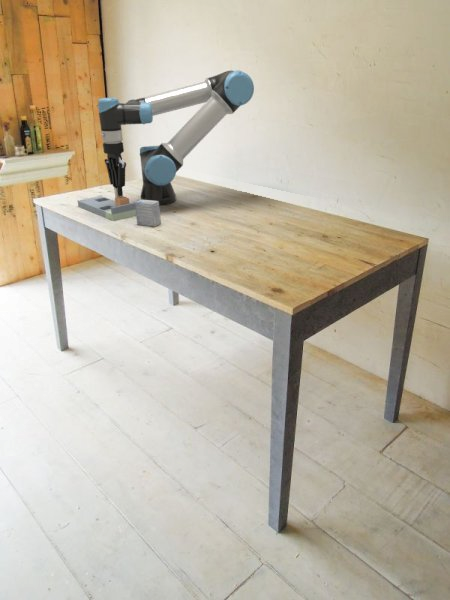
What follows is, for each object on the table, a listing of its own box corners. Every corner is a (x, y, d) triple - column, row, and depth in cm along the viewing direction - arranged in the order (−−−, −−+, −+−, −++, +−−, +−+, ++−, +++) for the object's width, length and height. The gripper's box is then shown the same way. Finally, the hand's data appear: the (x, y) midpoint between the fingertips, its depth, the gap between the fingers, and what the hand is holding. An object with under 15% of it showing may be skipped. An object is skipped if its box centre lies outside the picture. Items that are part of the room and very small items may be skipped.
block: (116, 208, 198) (114, 198, 196) (124, 206, 200) (123, 196, 199) (121, 210, 195) (119, 199, 194) (130, 208, 198) (128, 198, 196)
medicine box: (161, 223, 186) (159, 200, 182) (155, 227, 183) (152, 203, 179) (143, 221, 189) (141, 199, 186) (136, 225, 186) (134, 202, 182)
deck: (78, 206, 212) (76, 194, 210) (101, 201, 218) (100, 190, 216) (113, 221, 191) (112, 208, 189) (138, 215, 197) (137, 202, 195)
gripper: (95, 141, 192) (103, 202, 202) (112, 145, 182) (119, 208, 193) (113, 139, 196) (120, 198, 206) (130, 142, 187) (136, 204, 197)
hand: (119, 203), depth 199 cm, fingers closed
